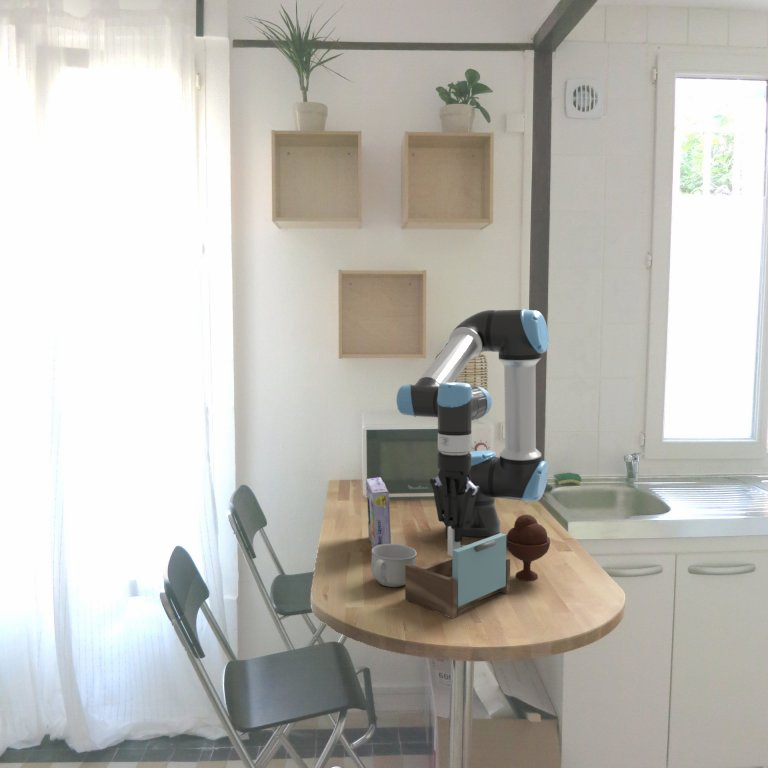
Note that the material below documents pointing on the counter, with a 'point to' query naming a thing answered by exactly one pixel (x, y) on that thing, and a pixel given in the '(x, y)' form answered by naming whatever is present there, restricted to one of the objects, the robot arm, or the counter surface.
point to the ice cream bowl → (527, 544)
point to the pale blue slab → (479, 568)
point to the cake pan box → (378, 512)
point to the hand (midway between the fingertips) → (453, 554)
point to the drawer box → (439, 587)
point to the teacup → (391, 563)
